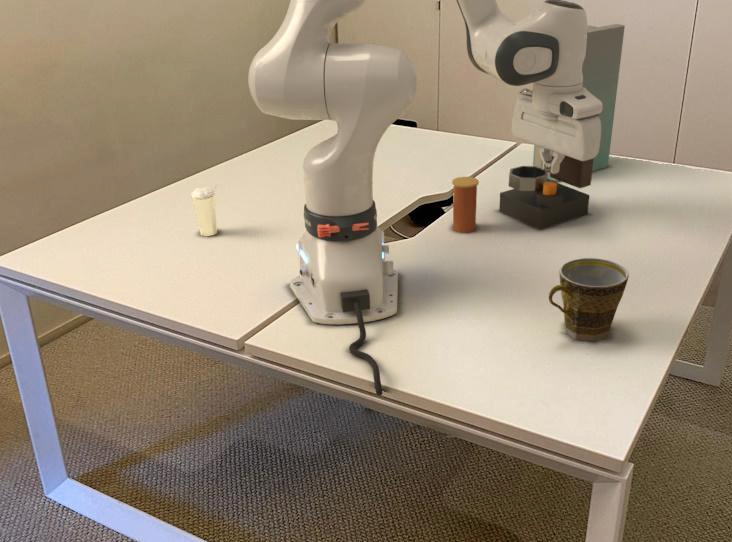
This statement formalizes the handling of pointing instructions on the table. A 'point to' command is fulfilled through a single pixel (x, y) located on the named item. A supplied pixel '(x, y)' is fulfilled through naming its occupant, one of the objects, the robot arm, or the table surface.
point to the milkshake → (205, 210)
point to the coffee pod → (464, 204)
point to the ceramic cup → (590, 296)
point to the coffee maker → (568, 173)
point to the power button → (549, 188)
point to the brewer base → (544, 205)
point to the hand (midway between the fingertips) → (550, 171)
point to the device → (600, 83)
